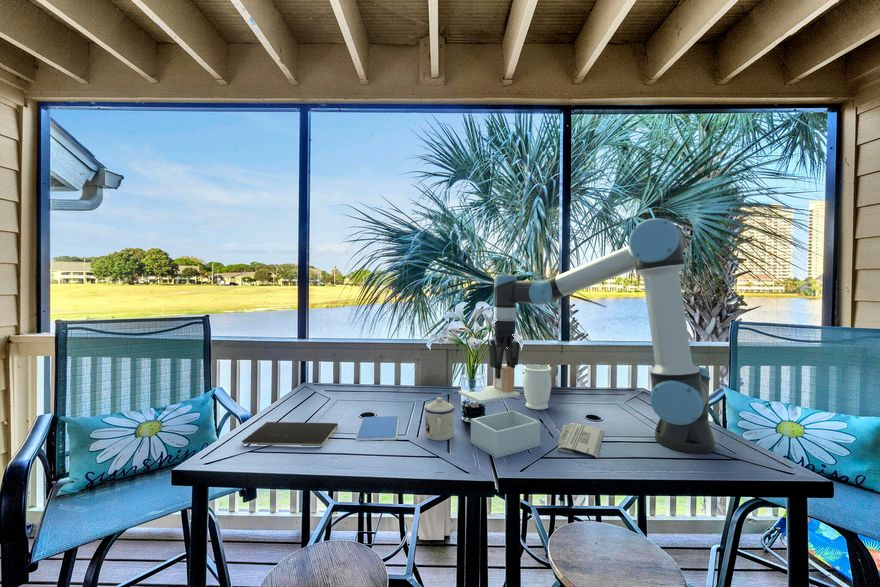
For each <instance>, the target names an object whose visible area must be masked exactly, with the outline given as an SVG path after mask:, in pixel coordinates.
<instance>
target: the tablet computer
mask: <svg viewBox="0 0 880 587" xmlns="http://www.w3.org/2000/svg"><path fill="white" fill-rule="evenodd" d="M399 425H400V416H397V415H396V416H394V415H393V416H364V417H362V419H361V423H360V425H359V427H358V431H357V432H358V433H357V432H356V435H355V438H354V440H355V439H356V440H383V441H397V440H398V434H399ZM396 439H397V440H396Z"/></svg>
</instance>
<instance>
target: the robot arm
mask: <svg viewBox="0 0 880 587" xmlns="http://www.w3.org/2000/svg"><path fill="white" fill-rule="evenodd" d="M685 247H686V236H685V233H684V232H683V230H682V229H680V227H678V226H677V225H676V224H675V223H673V222H672V221H671V220H669V219H666V218H657V217H653V218H648V219H645V220H643V221H641V222H639V223H637V225H636V226H634V227H633V229H632V230H631V233H630V234H629V238H628V245H627V246H624V247H623V248H620V249H617V250H615V251H613V252H610V253H607V254H606V255H603V256H601V257H599V258H596V259H594V260H591V261H589V262H586V263H584V264H581V265H580V266H577V267H574V268H572V269H570V270H568V271H565V272H563V273H561V274H558V275H556V276H554V277H551V278H548V279H546V280H539V279H538V280H518V279H517V276H516V275H514V274H497V275H495V277H494V281H493V282H494V283H493V318H494V320H495V321H496V319H497V321H496V322H495V327H494V326H493V331H494V334H493V337H492V338H489V339H487V345H488V352H489V366H490V368H493V369H494V368H495V378H497V387H498V388H501V389H503V369H501V368H502V365H503V360H504V353H505V362H506V366H509V367H512V368H514V369H516V366H518V364H519V354H520V344H519V343H518V342H516V341H513V339H514V337H513V336H514V335H513V336H512V334H515V335H516V333H515V331H516V330H517V328H516V327H517V326H516V325H517V322H516V320H515V319H517V304H519V303H520V304H530V305H531V304H533V305H545V304H549V303H552V302H557V301H558V300H560V299H561V298H563V297H566V296H569V295H571V294H573V293H576V292H579V291H582V290H584V289H586V288H589V287H593V286H595V285H598V284H600V283H602V282H605V281H608V280H611V279H614V278H616V277H618V276H621V275H624V274H626V273H629V272H632V271H634V270H635V271H636V273H637V274H638V275H640V276H641V277H642V278H643V284H644V293H645V298H646V306H647V314H648V321H649V329H650V337H651V344H652V351H653V356H654V366H653V367H652V368H651V369H649V370H650V371H649V374H650V380H651V387H652V388H651V391H650V396H649V401H650V402H649V403H650V405H651V408H652V410H653V411H654V413H655V414H656V415H657V417H659V420H658V422H657V425H656V427H655V430H654V440H655V441H656V442H657V443H659V444H660V445H662V446H664V447H666V448H669V449H672V450H675V451H678V452H684V453H690V454H709V453H710V454H711V453H713V452H714V451H715V450H716V440H715V436H714V433H713V430H712V427H711V425H710V421H709V412H710V410H709V407H710V405H709V404H710V403H709V402H710V381H711V377H710V371H709V370H708V368H707V367H701V366H698V365H697V366H696V365H695V364H694V363H693V359H692V353H691V346H690V339H689V332H688V326H687V325H688V324H687V318H686V311H685V305H684V304H685V303H684V298H683V297H684V296H683V291H682V290H683V289H682V285H681V276H680V272H681V271H682V270H683V268H684V267H685V266H686V264H685V256H684V250H685ZM506 347H507V348H508V349H507V348H506ZM504 351H505V352H504Z"/></svg>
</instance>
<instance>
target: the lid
mask: <svg viewBox="0 0 880 587" xmlns="http://www.w3.org/2000/svg"><path fill="white" fill-rule="evenodd" d="M501 369H503V389H501V388H498V387H497V378H495V368H493V371H494V373H493V374H494V377H493V379H494V381H493V382H494V383H493V385H487V386H484V387H485V390H484V391H481V392H469V391H465V390H466V389H464V390H463V389H462V390H458V392H457V393H458V394H459V395H462V396H464V397H466V398H468V399H471V400H472V401H475V402H476V403H479V404H483V403H487V402H492V401H493V402H494V401H498V400H504V399H508V398H509V399H510V398H514V397H520V396H521V393H520V392H518V391H515V368H512V367H509V366H507V365H505V364H502V368H501Z"/></svg>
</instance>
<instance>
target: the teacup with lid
mask: <svg viewBox="0 0 880 587" xmlns="http://www.w3.org/2000/svg"><path fill="white" fill-rule="evenodd" d="M424 411H425V412H424V413H425V414H424V416H425V417H424V418H425V419H424V420H425V421H424V422H425V424H424V425H425V426H424V428H425V429H424V430H425V431H424V432H425V433H424V434H425V438H427V439H429V440H432V441H437V442H439V441H440V442H441V441H447V440H451V439H452V438H453V437H454V411H455V407H454V405H453V404H452V403H451V402H450V403H449V402H447V401H445V400H444V399H443V397H440V396H439V397H436V399H435V400H433V401H432V402H430V403H426V404H425V406H424Z"/></svg>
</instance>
